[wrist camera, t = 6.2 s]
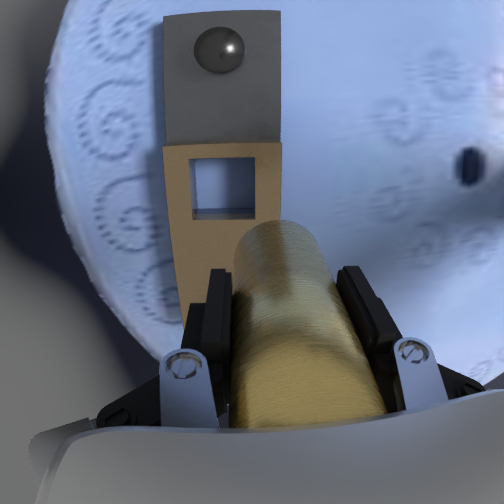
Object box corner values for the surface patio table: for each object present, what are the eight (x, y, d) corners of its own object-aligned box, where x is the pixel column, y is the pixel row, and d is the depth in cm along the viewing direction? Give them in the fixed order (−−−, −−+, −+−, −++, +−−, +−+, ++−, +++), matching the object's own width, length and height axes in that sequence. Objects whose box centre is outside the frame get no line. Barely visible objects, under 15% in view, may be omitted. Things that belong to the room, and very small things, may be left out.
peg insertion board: (279, 14, 23) (284, -1, 18) (273, 316, 38) (276, 345, 33) (167, 19, 23) (152, 7, 18) (188, 316, 38) (181, 344, 33)
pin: (335, 245, 15) (453, 499, 4) (289, 307, 16) (333, 552, 6) (262, 204, 14) (310, 514, 3) (218, 275, 15) (196, 550, 5)
